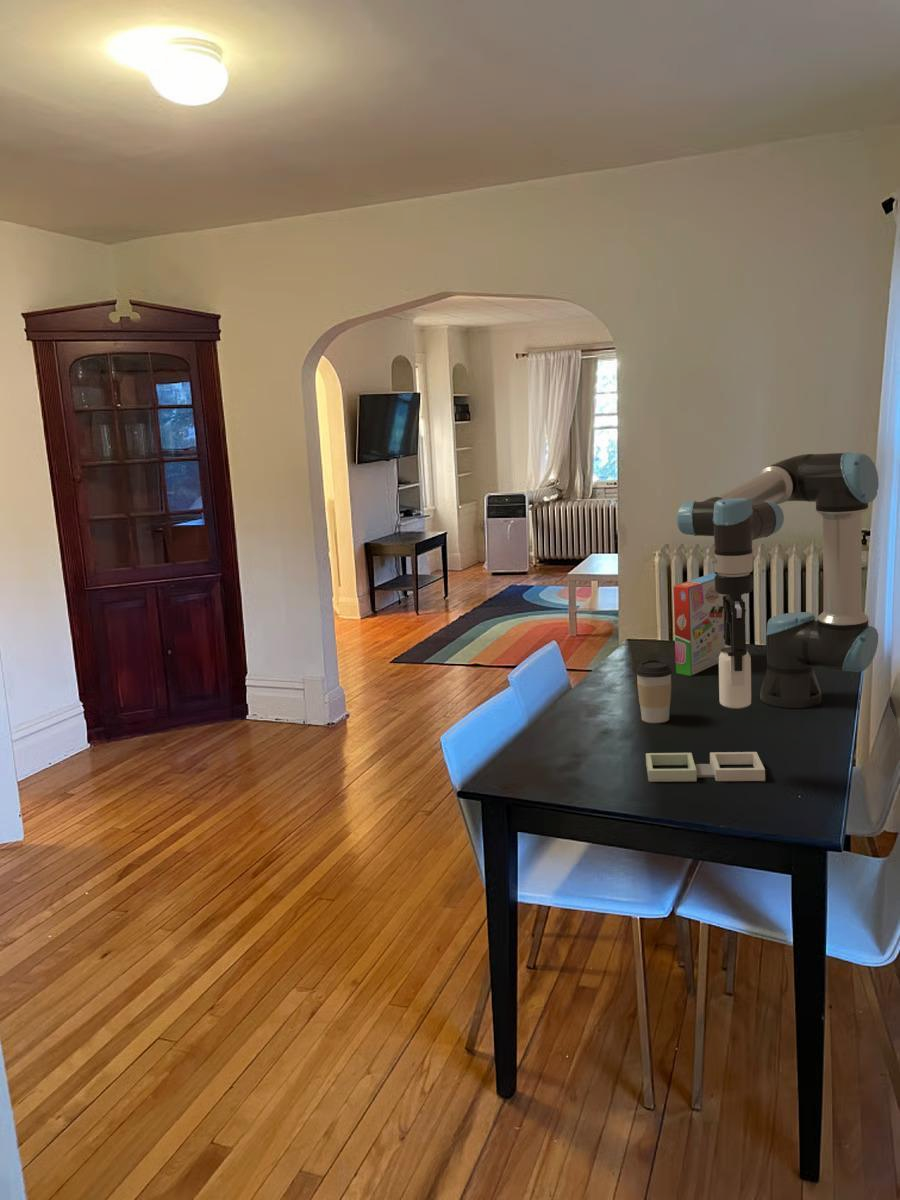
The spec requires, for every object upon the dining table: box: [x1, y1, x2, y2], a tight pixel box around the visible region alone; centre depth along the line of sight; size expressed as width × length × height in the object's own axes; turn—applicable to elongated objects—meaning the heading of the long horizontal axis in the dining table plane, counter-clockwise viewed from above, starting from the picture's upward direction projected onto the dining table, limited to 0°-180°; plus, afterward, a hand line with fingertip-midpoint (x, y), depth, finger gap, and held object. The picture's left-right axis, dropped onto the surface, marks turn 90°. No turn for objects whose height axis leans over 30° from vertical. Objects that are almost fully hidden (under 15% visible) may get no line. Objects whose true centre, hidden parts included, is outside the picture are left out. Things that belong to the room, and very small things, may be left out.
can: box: [718, 647, 752, 710], centre depth 186 cm, size 6×6×12 cm
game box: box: [672, 573, 727, 677], centre depth 266 cm, size 21×6×27 cm, turn 133°
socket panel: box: [645, 751, 766, 783], centre depth 192 cm, size 24×10×2 cm, turn 81°
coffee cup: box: [635, 658, 673, 724], centre depth 225 cm, size 9×9×15 cm
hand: (734, 679), depth 187 cm, fingers closed on can, 6 cm apart
